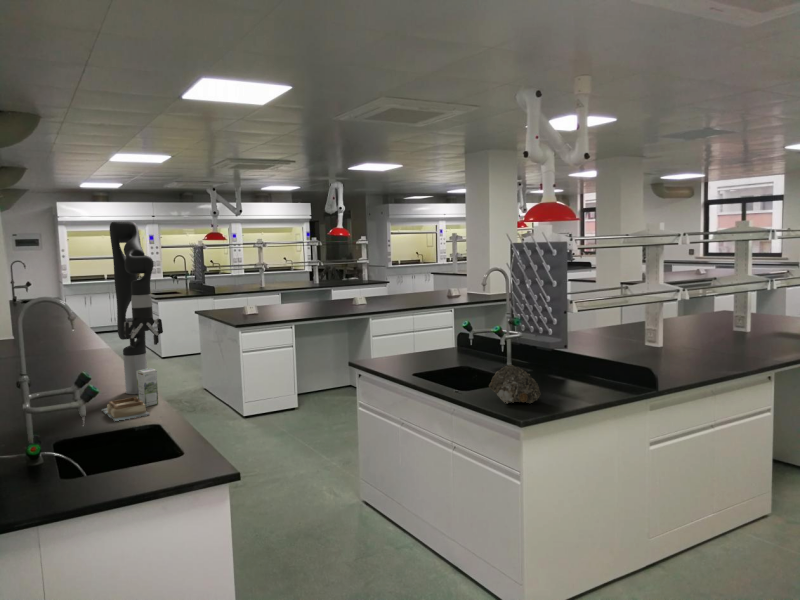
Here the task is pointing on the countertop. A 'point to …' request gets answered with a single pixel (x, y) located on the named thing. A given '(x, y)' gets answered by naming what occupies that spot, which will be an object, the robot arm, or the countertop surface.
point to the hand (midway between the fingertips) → (144, 345)
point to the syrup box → (147, 386)
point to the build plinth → (125, 409)
